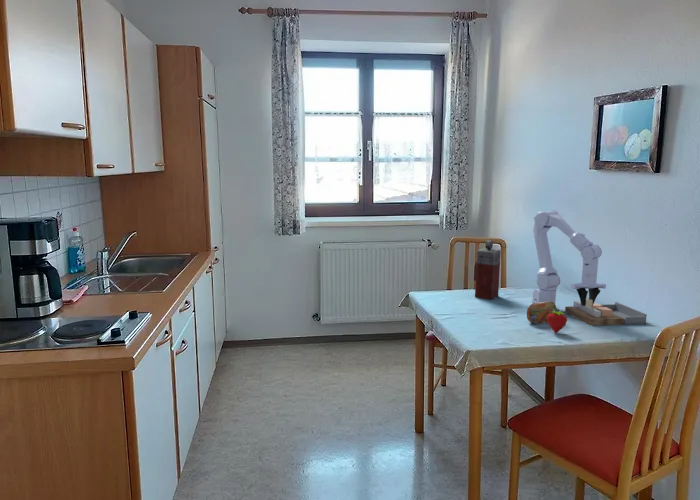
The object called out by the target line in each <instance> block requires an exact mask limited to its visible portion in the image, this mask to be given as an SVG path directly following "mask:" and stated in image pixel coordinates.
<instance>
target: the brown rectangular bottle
mask: <svg viewBox="0 0 700 500" xmlns="http://www.w3.org/2000/svg"><path fill="white" fill-rule="evenodd" d="M493 246H494V242H493V240H489V239H487V240H486V242H485V247H484V248H480V249H478V250H477V251H476V261H475V264H474V269H473V281H475V286H474V287H475V288H474V298H477V299H485V300H491V301H492V300H494V299H497V298H498V297H499V288H500V287H499V286H500V270H501V269H500V268H501V254H502V253H501V250H500V248H499V249H496V248H493Z"/></svg>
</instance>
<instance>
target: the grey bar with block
mask: <svg viewBox="0 0 700 500" xmlns="http://www.w3.org/2000/svg"><path fill="white" fill-rule="evenodd" d="M592 303H593V300H592V299H589V297H588V298H587V297H586V304H585V306H583V305H581V301H579V300H574V301H573V305H572V306H573V307H575V308H577V309H579V310H581V311H583V312H585V313H587V314H590V315H592V316H594V317H596V318H598V317H600V316H601V311H599V310H597V309H594V308H592Z"/></svg>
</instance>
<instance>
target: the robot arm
mask: <svg viewBox="0 0 700 500" xmlns="http://www.w3.org/2000/svg"><path fill="white" fill-rule="evenodd" d="M533 221H534V226H533V230H532V231H533V236H534V237H533V238H534V243H535V248H536V253H537V259H538V264H539V269H538V271H537V272H536V277H537V278H536V285H537V287H538V288H537V289H534V290H533V292H532V303H531V304H534V303H540V302H545V301H548V302H553V303H554V304H555V305H556V300H557V299H556V298H557V289H558V286H560V284H561V278H560V276H559V274H558V271H557V269H556V268H555V267H554V266H553V261H552V255H551V249H550V245H549V239H548V238H549V237H548V232H549V230H550V229H551V228H553V227H555V228H557V229H558V230H559V231H561V232H562V233H563V234H564V235H566V236H567V237H568V238H569V242H570V244H571V245H573V246H574V248H576V249H577V250H578V251H579V252H580V256H581V258H582V269H581V270H582V271H581V272H582V273H581V282H578V283H577V282H576V283H571V285H570V286H571V287H570V288H571V290H576V291H577V292H576V293H578V296H579V300H580V301H579V302H581V305H583V306H585V304H586V298H587V296H588V298H589V299H592V300H593V303H592V306H593V304H594V303H595V301H596V299H597V298H598V296H599V294H600V293H601V289H604V290H605V289H606V288H607V284H606V283H605V282H604V283H603V282H600V283H599V282H597V279H598V267H599V259H600V258H601V256H602V254H603V253H602V248H601V247H600V246H599V245H598V244H594V242H593V241H591V240H589V239H588V238H587V237H586V234H585V233H582V232H576V230H575V229H574V228H573V227H571V225H570V224H568V222H567V221H566V220H565V219H564V218H563V215H562V214H560V213H559V212H558V211H556V210H549V211H548V210H546V211H542V210H541V211H538V212H537V213H536V215H534V217H533ZM587 289H588V290H587ZM556 308H557V311H560V308H559V307H556Z"/></svg>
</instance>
